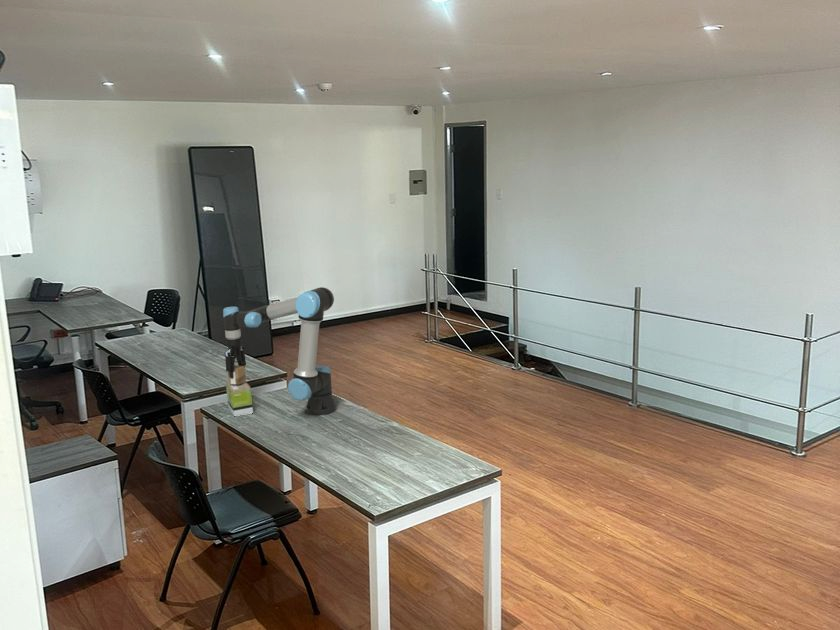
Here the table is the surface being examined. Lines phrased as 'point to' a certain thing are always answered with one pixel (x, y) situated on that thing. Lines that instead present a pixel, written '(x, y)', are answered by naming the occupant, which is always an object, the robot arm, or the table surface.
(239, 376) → the walnut block
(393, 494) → the table surface
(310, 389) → the robot arm
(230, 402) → the tea box
